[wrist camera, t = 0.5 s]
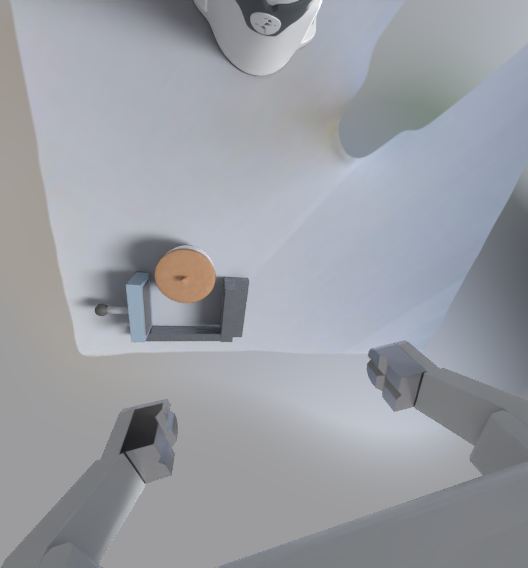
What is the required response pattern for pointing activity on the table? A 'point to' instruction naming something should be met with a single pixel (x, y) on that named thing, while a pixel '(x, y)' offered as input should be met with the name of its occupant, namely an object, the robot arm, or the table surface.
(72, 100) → the table surface
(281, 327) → the table surface
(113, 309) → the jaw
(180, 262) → the lidded jar
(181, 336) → the vise body
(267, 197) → the table surface
